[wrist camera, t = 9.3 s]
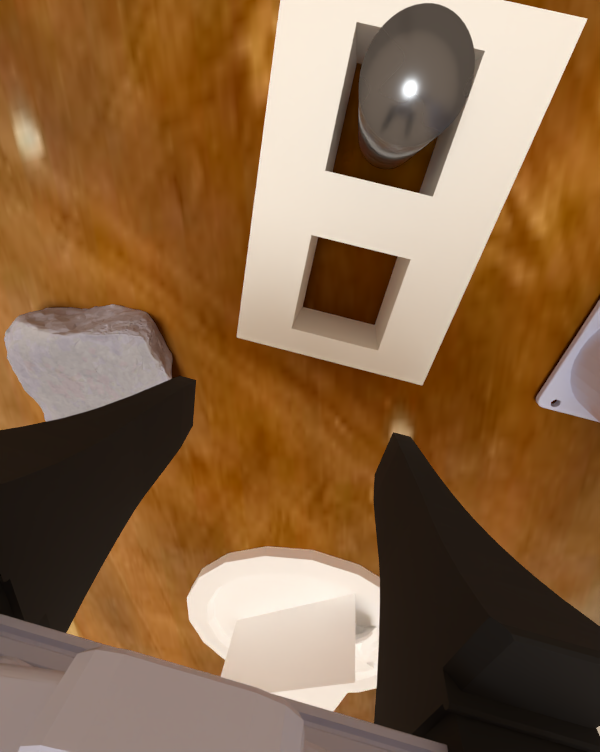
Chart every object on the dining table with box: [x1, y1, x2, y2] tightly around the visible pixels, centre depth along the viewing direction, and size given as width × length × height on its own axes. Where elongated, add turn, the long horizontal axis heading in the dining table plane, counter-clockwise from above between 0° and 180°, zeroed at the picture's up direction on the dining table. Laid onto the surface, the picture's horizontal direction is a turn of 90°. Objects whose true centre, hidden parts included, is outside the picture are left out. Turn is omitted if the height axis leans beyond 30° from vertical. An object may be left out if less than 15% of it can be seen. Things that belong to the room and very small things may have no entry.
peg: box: [358, 3, 475, 169], centre depth 13 cm, size 3×3×8 cm
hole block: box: [237, 0, 587, 385], centre depth 16 cm, size 10×14×4 cm
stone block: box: [4, 304, 173, 422], centre depth 24 cm, size 12×5×10 cm
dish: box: [187, 546, 380, 711], centre depth 32 cm, size 25×25×11 cm
